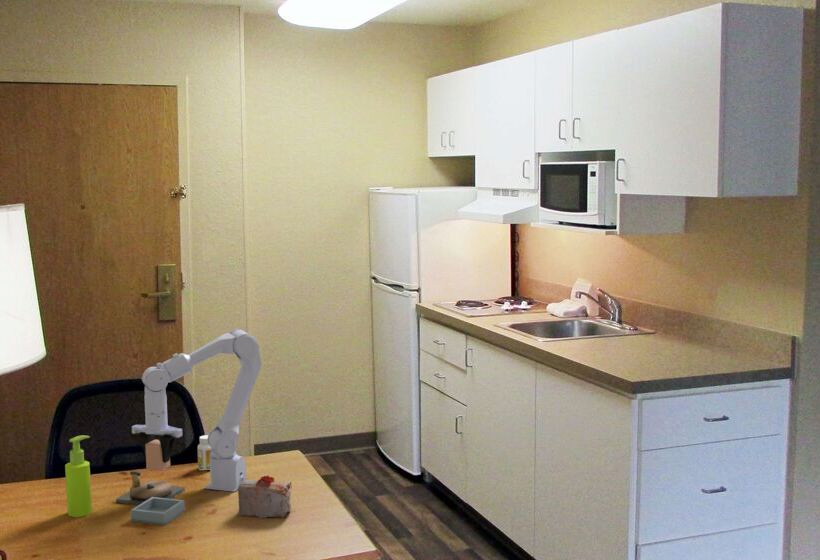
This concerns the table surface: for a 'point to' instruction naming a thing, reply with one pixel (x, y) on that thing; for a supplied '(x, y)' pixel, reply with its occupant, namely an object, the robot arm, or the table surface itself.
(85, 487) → the soap dispenser
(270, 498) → the food item
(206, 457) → the supplement bottle
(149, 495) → the crank
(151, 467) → the block
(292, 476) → the table surface
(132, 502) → the crank base
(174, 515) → the tray
